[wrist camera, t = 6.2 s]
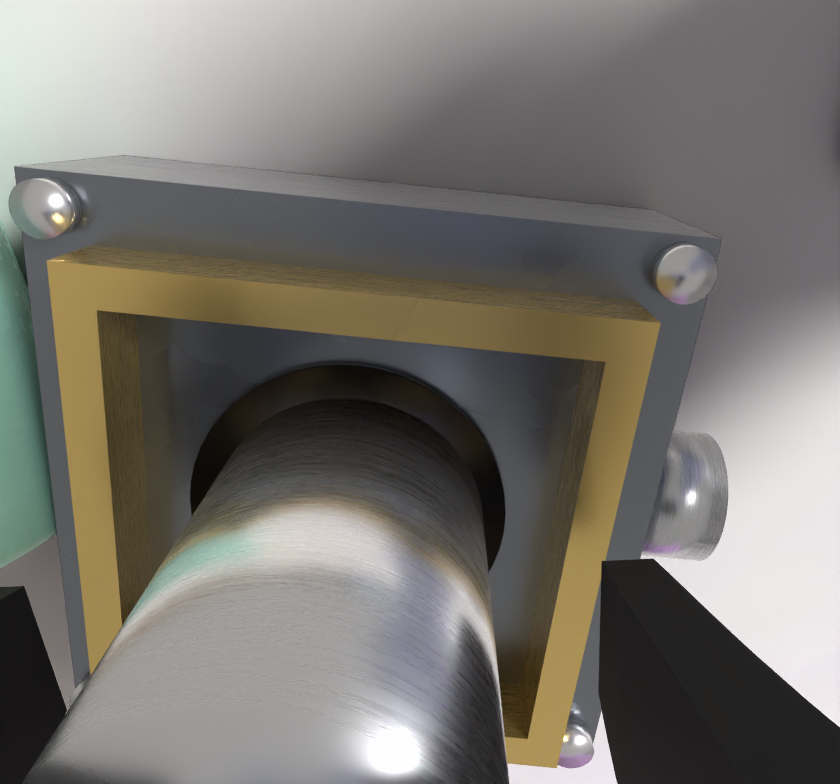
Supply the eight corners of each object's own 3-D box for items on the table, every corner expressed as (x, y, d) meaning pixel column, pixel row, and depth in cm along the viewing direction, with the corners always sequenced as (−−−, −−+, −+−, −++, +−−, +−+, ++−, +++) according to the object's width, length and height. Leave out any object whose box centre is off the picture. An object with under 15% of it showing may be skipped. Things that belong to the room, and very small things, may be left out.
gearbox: (730, 217, 13) (877, 266, 9) (622, 637, 17) (686, 822, 12) (122, 155, 13) (-43, 172, 8) (149, 590, 17) (43, 759, 12)
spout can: (507, 421, 11) (635, 1032, 3) (457, 644, 12) (474, 1367, 5) (223, 376, 10) (-240, 914, 3) (210, 607, 12) (-120, 1296, 5)
